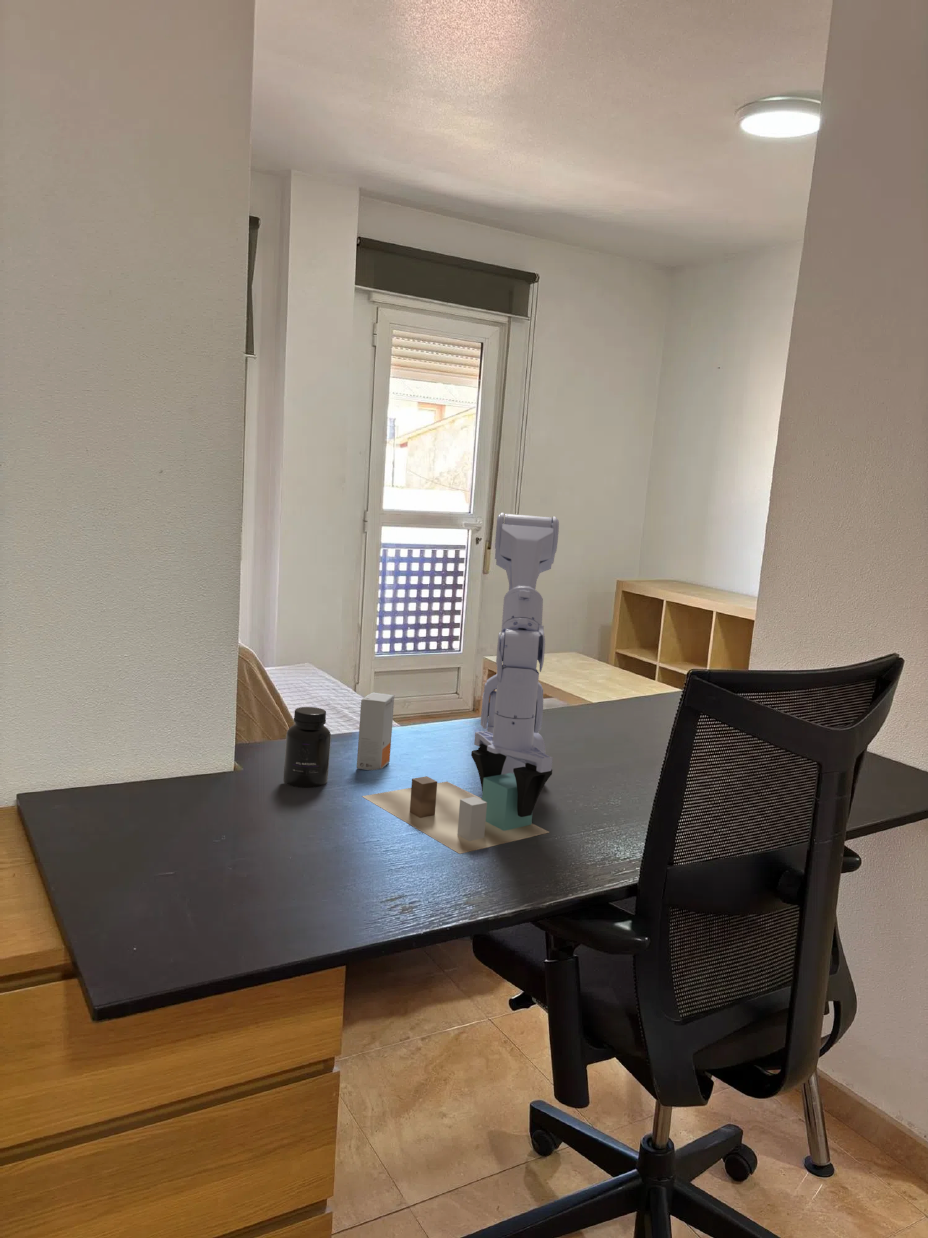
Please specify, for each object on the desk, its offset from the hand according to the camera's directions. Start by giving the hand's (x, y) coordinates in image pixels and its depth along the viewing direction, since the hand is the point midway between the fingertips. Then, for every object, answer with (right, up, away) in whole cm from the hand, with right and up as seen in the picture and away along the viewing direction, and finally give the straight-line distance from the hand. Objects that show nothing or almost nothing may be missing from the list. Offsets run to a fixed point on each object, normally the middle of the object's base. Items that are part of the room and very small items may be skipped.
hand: (507, 806), depth 130 cm
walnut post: (-12, -1, +1) cm, 12 cm away
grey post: (-5, -3, -6) cm, 8 cm away
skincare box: (-21, +2, +24) cm, 32 cm away
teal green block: (0, -2, 0) cm, 2 cm away
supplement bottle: (-31, +1, +12) cm, 33 cm away
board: (-8, -2, +2) cm, 8 cm away
